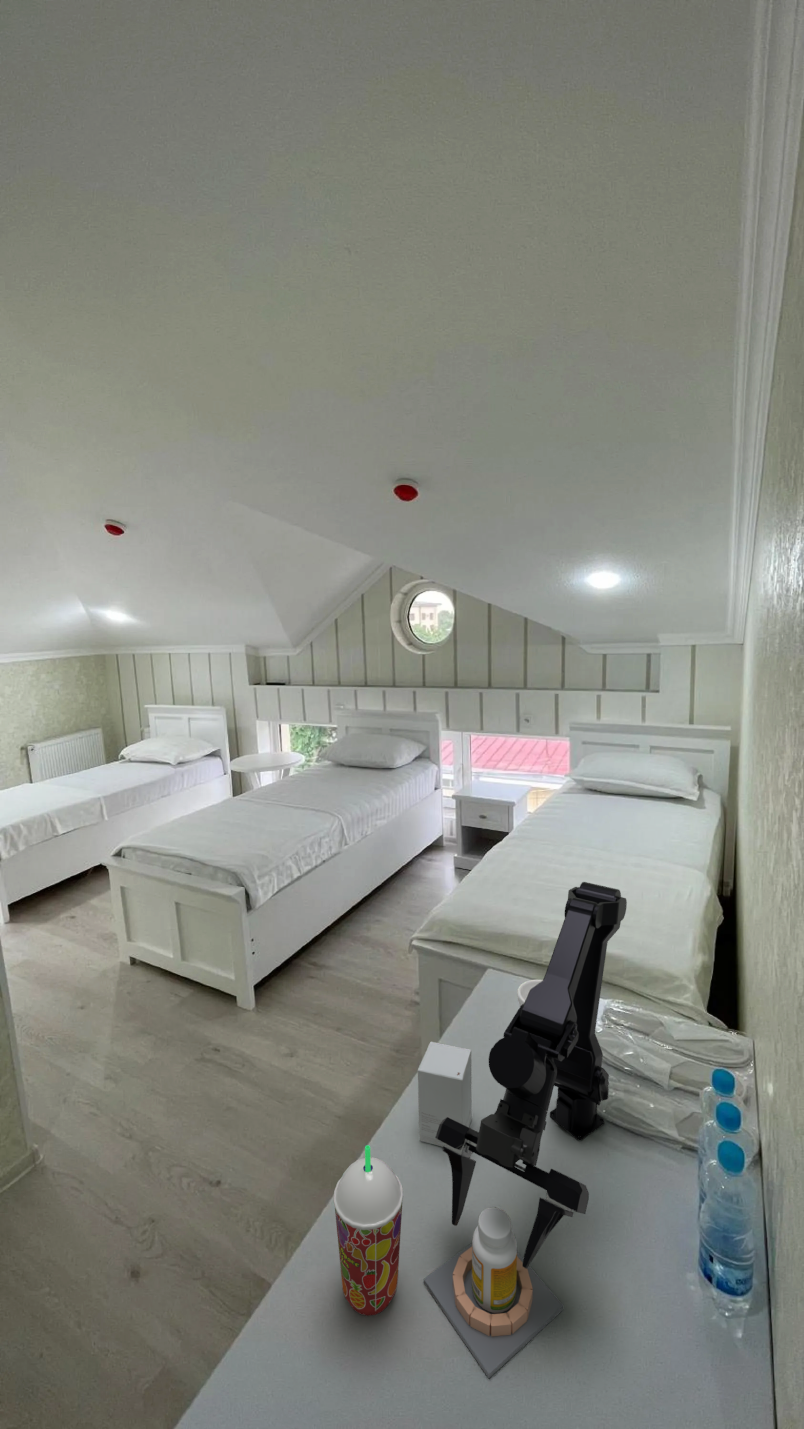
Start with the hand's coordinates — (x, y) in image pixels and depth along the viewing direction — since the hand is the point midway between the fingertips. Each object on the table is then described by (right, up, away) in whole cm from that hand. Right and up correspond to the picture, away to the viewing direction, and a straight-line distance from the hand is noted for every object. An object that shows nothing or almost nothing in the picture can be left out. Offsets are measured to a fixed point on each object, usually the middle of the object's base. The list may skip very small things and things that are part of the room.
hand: (488, 1245), depth 73 cm
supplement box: (-3, -5, +27) cm, 28 cm away
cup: (+18, -1, +50) cm, 53 cm away
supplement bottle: (+1, -8, +2) cm, 8 cm away
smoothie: (-14, -8, +3) cm, 17 cm away
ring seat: (+1, -8, +2) cm, 8 cm away
